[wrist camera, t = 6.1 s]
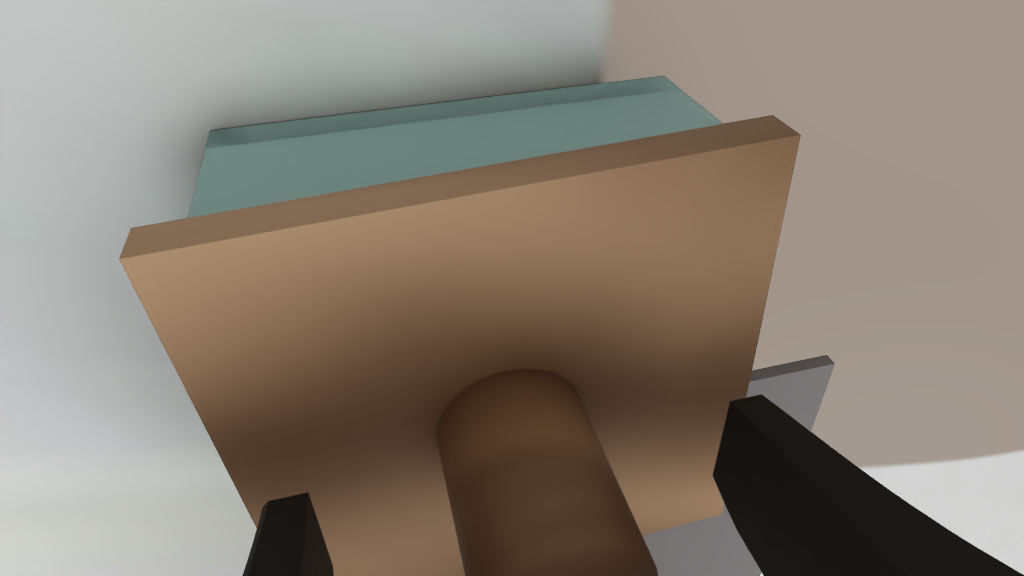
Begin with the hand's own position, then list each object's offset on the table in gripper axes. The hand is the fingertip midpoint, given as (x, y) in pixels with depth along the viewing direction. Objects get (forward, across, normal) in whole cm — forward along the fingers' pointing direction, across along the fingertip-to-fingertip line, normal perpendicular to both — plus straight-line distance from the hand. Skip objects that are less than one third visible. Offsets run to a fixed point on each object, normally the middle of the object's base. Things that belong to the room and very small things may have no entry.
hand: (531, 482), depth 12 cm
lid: (+2, 0, 0) cm, 2 cm away
